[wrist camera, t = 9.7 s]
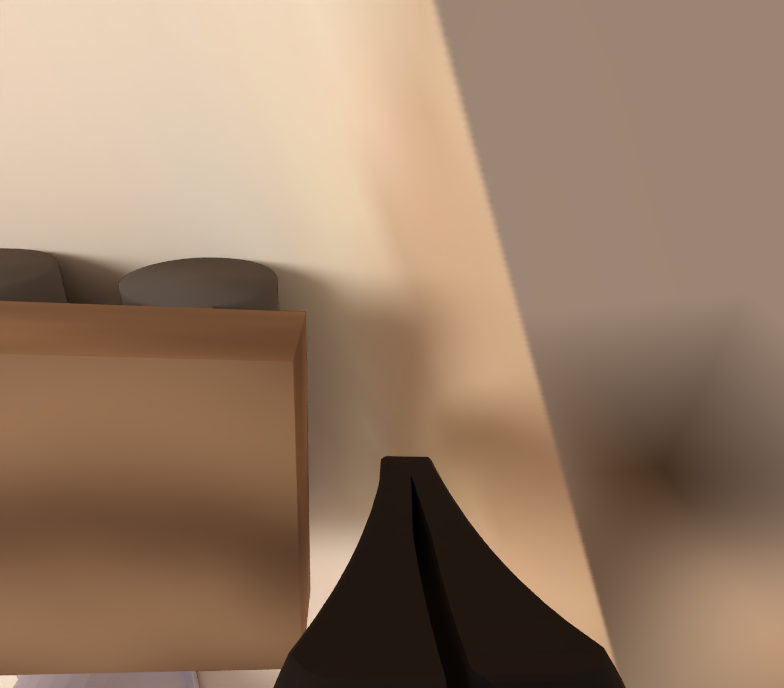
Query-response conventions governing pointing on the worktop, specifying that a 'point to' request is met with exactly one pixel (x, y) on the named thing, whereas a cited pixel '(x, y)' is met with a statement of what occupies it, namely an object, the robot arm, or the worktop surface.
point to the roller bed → (149, 282)
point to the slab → (151, 488)
